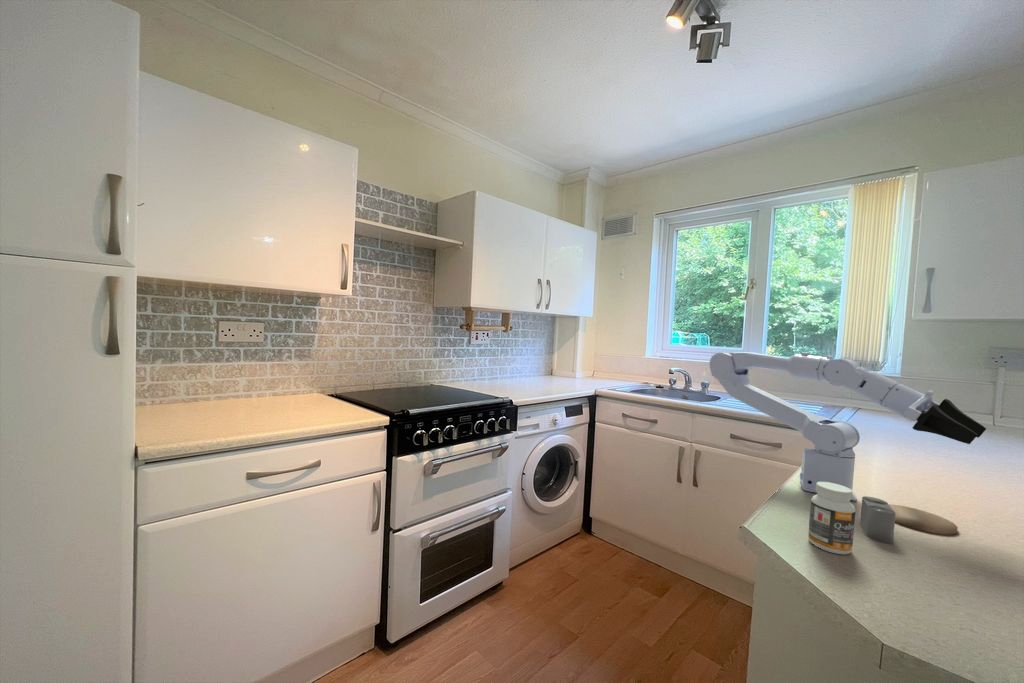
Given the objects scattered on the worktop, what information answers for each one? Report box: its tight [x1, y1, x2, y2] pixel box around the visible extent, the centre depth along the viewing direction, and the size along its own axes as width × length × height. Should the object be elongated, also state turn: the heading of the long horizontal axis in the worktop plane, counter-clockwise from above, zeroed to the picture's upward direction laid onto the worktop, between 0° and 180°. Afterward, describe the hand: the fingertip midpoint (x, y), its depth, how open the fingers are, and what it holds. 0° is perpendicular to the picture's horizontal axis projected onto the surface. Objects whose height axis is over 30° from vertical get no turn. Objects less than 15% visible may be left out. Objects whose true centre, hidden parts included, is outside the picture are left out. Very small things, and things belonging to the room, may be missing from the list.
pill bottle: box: [807, 482, 856, 555], centre depth 66 cm, size 6×6×10 cm
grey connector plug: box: [859, 495, 896, 544], centre depth 74 cm, size 11×4×5 cm, turn 148°
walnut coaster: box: [888, 503, 958, 536], centre depth 79 cm, size 11×11×1 cm
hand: (978, 436), depth 74 cm, fingers open, 7 cm apart
